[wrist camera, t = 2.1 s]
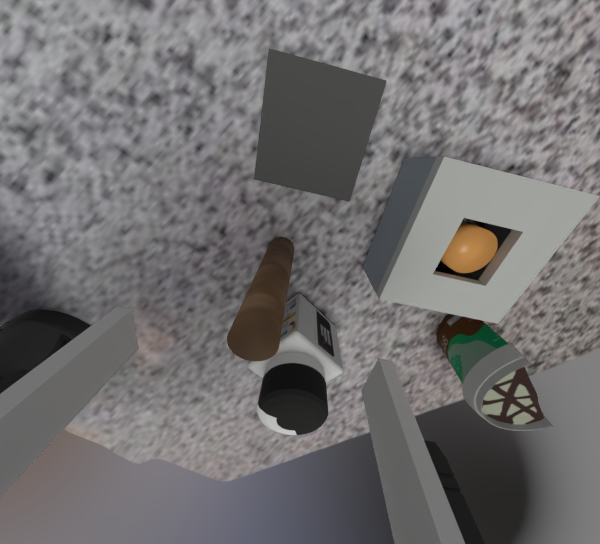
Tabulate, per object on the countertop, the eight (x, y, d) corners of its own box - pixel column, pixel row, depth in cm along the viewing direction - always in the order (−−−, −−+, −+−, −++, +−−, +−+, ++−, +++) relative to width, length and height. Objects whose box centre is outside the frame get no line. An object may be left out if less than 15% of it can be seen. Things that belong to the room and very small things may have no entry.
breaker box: (362, 266, 27) (379, 299, 20) (404, 157, 21) (444, 156, 15) (454, 286, 28) (497, 323, 21) (517, 186, 22) (599, 196, 16)
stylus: (267, 258, 27) (225, 356, 13) (270, 234, 25) (229, 317, 12) (291, 263, 27) (274, 365, 13) (296, 240, 26) (283, 328, 12)
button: (422, 254, 22) (437, 267, 19) (442, 215, 20) (462, 223, 18) (459, 263, 22) (479, 277, 20) (482, 225, 21) (508, 234, 18)
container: (299, 291, 29) (293, 380, 17) (336, 326, 31) (353, 425, 19) (259, 322, 31) (230, 418, 20) (296, 352, 34) (290, 453, 22)
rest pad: (255, 178, 23) (254, 179, 22) (269, 50, 18) (269, 48, 18) (348, 200, 23) (349, 201, 23) (385, 82, 19) (386, 80, 19)
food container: (413, 318, 30) (457, 385, 21) (459, 296, 28) (529, 359, 19) (445, 371, 34) (493, 445, 25) (486, 355, 33) (554, 429, 24)
